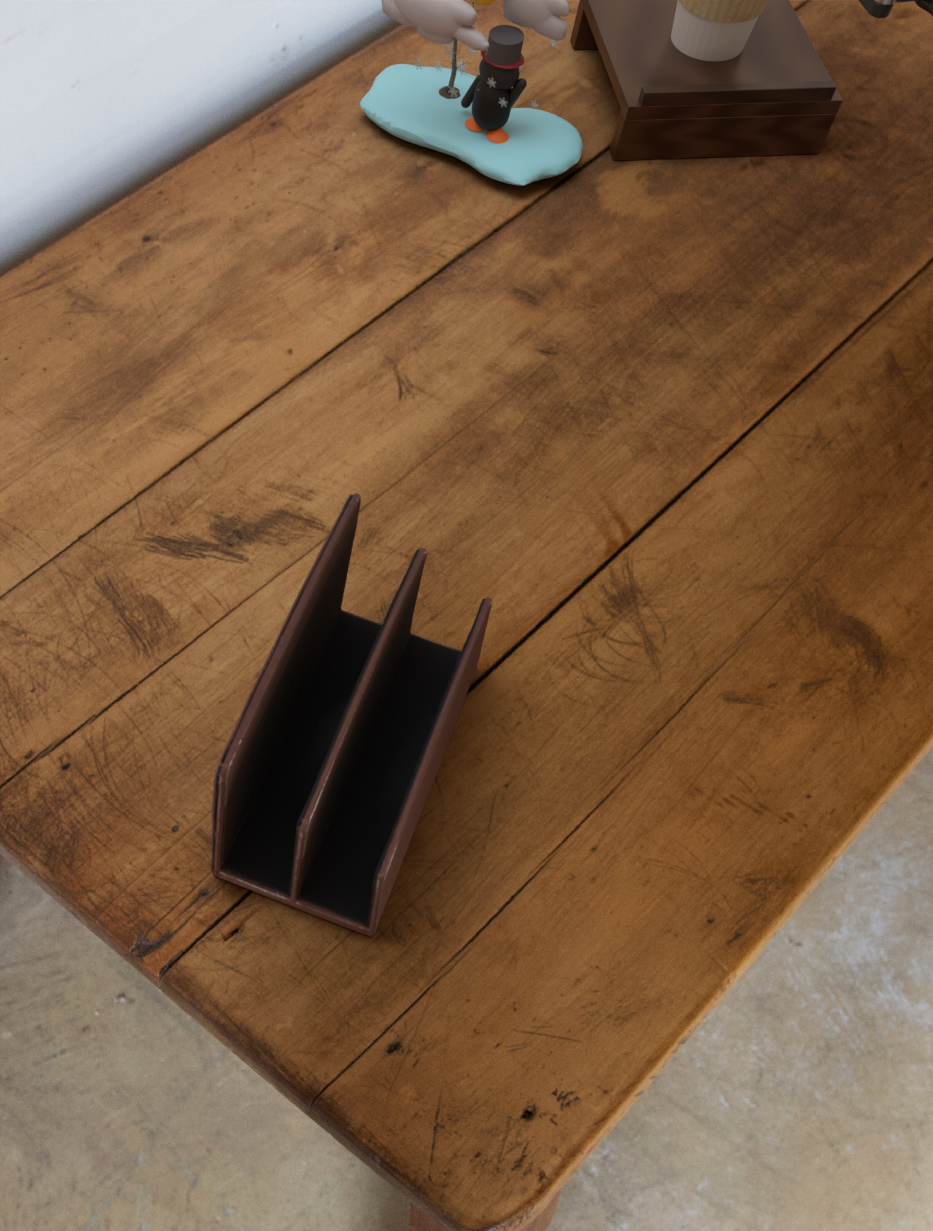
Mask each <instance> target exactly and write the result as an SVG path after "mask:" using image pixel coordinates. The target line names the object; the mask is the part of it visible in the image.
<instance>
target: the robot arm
mask: <svg viewBox="0 0 933 1231" xmlns="http://www.w3.org/2000/svg"><path fill="white" fill-rule="evenodd" d="M857 1H858V2H859V4H860V5H861V6H862V7H863V9H865V11H866V12H867V13H868V15H870V16H871V17H873V18H877V19H886V18H888V17H889V16H890V14H891V11H892V9H893V7H894V5H895V4H900V3H908V2H910V3H911V2H914V3H915V4H916V5H917V7H919V8H920V9H921V10H923V11H925V12H927V13H928V14H929V15H930V16H932V17H933V0H857Z"/></svg>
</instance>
